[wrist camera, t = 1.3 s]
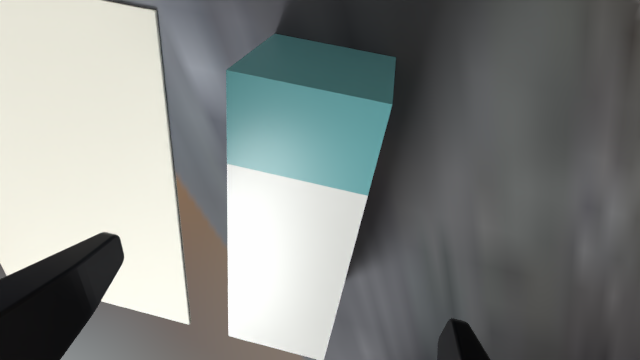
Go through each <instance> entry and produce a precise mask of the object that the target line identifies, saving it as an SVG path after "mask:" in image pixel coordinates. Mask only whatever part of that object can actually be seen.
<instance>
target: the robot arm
mask: <svg viewBox="0 0 640 360" xmlns="http://www.w3.org/2000/svg"><path fill="white" fill-rule="evenodd" d="M123 261H124V252H123V248H122V244H121V240H120V237H119V236H118V235H116V234H112V233H108V232H102V233H99V234H97V235H95V236H93V237H90V238H88V239H86V240H84V241H82V242H79V243H77V244H75V245H73V246H71V247H69V248H66V249H64V250H62V251H60V252H58V253H56V254H53V255H51V256H49V257H47V258H45V259H43V260H40V261H38V262H36V263H34V264H32V265H30V266H27V267H25V268H23V269H21V270H19V271H17V272H14V273H12V274H10V275H8V276H6V277H4V278H1V279H0V360H60V359H61V358H62V356H63V355H64V354H65V352H66V351H67V349H68V348H69V347H70V345H71V344H72V343H73V341H74V340H75V338H76V337H77V335H78V334H79V333H80V332H81V330H82V329H83V327H84V326H85V325H86V323H87V322H88V320H89V319H90V318H91V316H92V315H93V313H94V312H95V310H96V308H97V307H98V305H99V303H100V302H101V300H102V298H103V296H104V295H105V293H106V291H107V290H108V288H109V286H110V284H111V283H112V281H113V279H114V278H115V276H116V274H117V272H118V271H119V269H120V267H121V266H122V264H123ZM437 360H490V358H489V357H488V355H487V353H486V352H485V350H484V348H483V347H482V345H481V344H480V342H479V340H478V339H477V337H476V335H475V334H474V332H473V330H472V329H471V327H470V326H469V324H468V323H467V322H465V321H461V320H457V319H453V318H452V319H450V320H449V321H448V322H447V324H446V326H445V328H444V329H443V331H442V333H441V335H440V337H439V341H438V355H437Z"/></svg>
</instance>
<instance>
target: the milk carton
mask: <svg viewBox="0 0 640 360" xmlns="http://www.w3.org/2000/svg"><path fill="white" fill-rule="evenodd" d="M395 64H396V57H392V56H386V55H381V54H376V53H371V52H366V51H361V50H356V49H351V48H346V47H341V46H335V45H330V44H325V43H320V42H315V41H310V40H305V39H300V38H295V37H289V36H284V35H279V34H274V35H272V36H271V37H270V38H268V39H267V40H266V41H264V42H263V43H262V44H260V45H259V46H258V47H256V48H255V49H254V50H252V51H251V52H250V53H248V54H247V55H246V56H244V57H243V58H242V59H240V60H239V61H238V62H236V63H235V64H234V65H232V66H231V67H230V68H228V69H227V70H226V93H227V216H228V326H229V327H228V328H229V329H228V333H229V336H231V337H235V338H239V339H242V340H246V341H250V342H254V343H258V344H261V345H265V346H269V347H272V348H276V349H280V350H284V351H287V352H291V353H295V354H299V355H302V356H306V357H310V358H314V359H317V360H324V357H325V353H326V350H327V346H328V342H329V338H330V335H331V331H332V327H333V324H334V320H335V316H336V312H337V309H338V305H339V301H340V298H341V294H342V290H343V286H344V283H345V279H346V275H347V272H348V268H349V264H350V260H351V257H352V253H353V249H354V245H355V242H356V238H357V234H358V231H359V227H360V223H361V219H362V216H363V212H364V208H365V205H366V201H367V197H368V193H369V190H370V186H371V182H372V179H373V175H374V171H375V167H376V164H377V160H378V156H379V152H380V149H381V145H382V141H383V138H384V134H385V130H386V126H387V123H388V119H389V115H390V112H391V108H392V103H393V90H394V77H395Z"/></svg>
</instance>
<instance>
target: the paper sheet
mask: <svg viewBox="0 0 640 360" xmlns="http://www.w3.org/2000/svg"><path fill="white" fill-rule="evenodd" d="M102 232H108V233H112V234H116V235H118V236H119V237H120V240H121V244H122V248H123V252H124V261H123V264H122V266H121V267H120V269H119V271H118V272H117V274H116V276H115V278H114V279H113V281H112V283H111V284H110V286H109V288H108V290H107V291H106V293H105V295H104V296H103V298H102V300H101V301H102V302H106V303H110V304H114V305H117V306H121V307H125V308H129V309H133V310H137V311H140V312H144V313H147V314H151V315H155V316H159V317H163V318H166V319H170V320H174V321H178V322H182V323H185V324H190V323H191V316H190V305H189V296H188V286H187V277H186V267H185V258H184V248H183V239H182V230H181V220H180V211H179V202H178V191H177V181H176V174H175V172H174V167H173V157H172V148H171V139H170V130H169V120H168V111H167V102H166V92H165V83H164V74H163V65H162V55H161V46H160V37H159V27H158V18H157V10H152V9H147V8H141V7H136V6H131V5H126V4H121V3H116V2H111V1H106V0H0V263H1V265H2V267H3V269H4V271H5V273H6V275H7V276H8V275H10V274H12V273H14V272H17V271H19V270H21V269H23V268H25V267H27V266H30V265H32V264H34V263H36V262H38V261H40V260H43V259H45V258H47V257H49V256H51V255H53V254H56V253H58V252H60V251H62V250H64V249H66V248H69V247H71V246H73V245H75V244H77V243H79V242H82V241H84V240H86V239H88V238H90V237H93V236H95V235H97V234H99V233H102Z"/></svg>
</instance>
